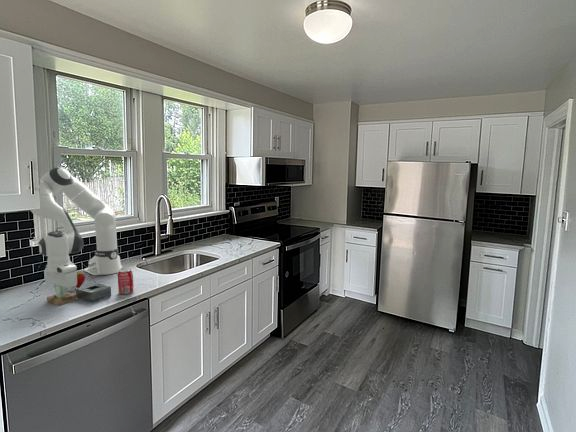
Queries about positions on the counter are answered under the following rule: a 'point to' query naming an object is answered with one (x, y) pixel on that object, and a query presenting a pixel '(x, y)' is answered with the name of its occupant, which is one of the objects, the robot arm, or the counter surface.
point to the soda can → (125, 281)
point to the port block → (93, 292)
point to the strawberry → (80, 279)
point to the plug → (59, 291)
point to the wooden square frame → (61, 299)
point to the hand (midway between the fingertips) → (61, 293)
